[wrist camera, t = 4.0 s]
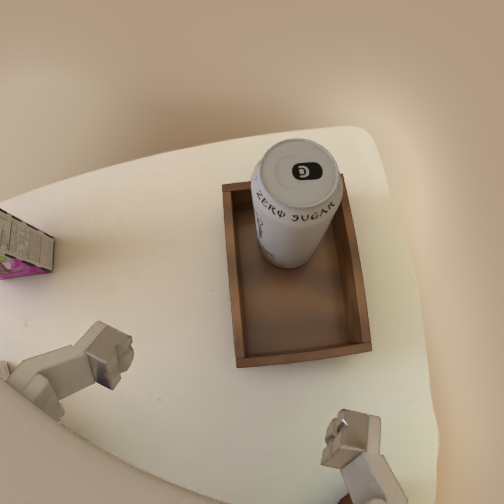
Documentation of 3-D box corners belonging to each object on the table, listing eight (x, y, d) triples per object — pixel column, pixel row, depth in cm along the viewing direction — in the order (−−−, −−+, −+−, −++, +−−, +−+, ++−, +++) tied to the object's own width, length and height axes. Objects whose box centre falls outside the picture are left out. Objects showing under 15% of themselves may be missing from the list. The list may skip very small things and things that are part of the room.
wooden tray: (355, 348, 31) (372, 350, 25) (242, 362, 31) (236, 368, 26) (333, 196, 35) (342, 173, 29) (228, 206, 35) (221, 184, 30)
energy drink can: (255, 217, 34) (245, 135, 20) (312, 211, 34) (337, 128, 19) (261, 273, 33) (253, 222, 18) (320, 267, 32) (357, 213, 18)
